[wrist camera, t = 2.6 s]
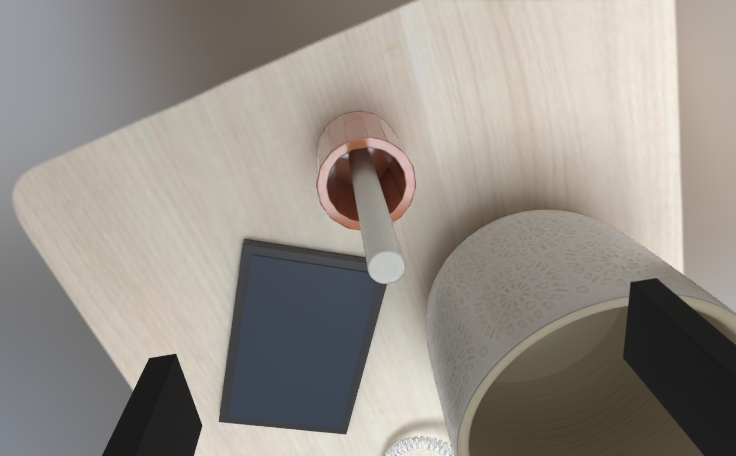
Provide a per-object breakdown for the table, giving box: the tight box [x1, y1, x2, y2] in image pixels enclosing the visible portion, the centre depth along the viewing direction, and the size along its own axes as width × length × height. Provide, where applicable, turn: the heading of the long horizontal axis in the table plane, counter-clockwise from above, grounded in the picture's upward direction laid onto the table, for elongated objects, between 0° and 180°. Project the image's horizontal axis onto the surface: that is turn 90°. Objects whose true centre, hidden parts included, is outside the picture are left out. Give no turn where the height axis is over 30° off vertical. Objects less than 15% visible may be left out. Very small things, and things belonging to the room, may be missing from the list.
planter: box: [426, 210, 736, 456], centre depth 34 cm, size 17×17×15 cm
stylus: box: [349, 148, 405, 284], centre depth 27 cm, size 2×2×16 cm
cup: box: [316, 111, 416, 230], centre depth 32 cm, size 6×6×7 cm
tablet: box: [219, 239, 387, 434], centre depth 41 cm, size 11×17×1 cm, turn 168°
